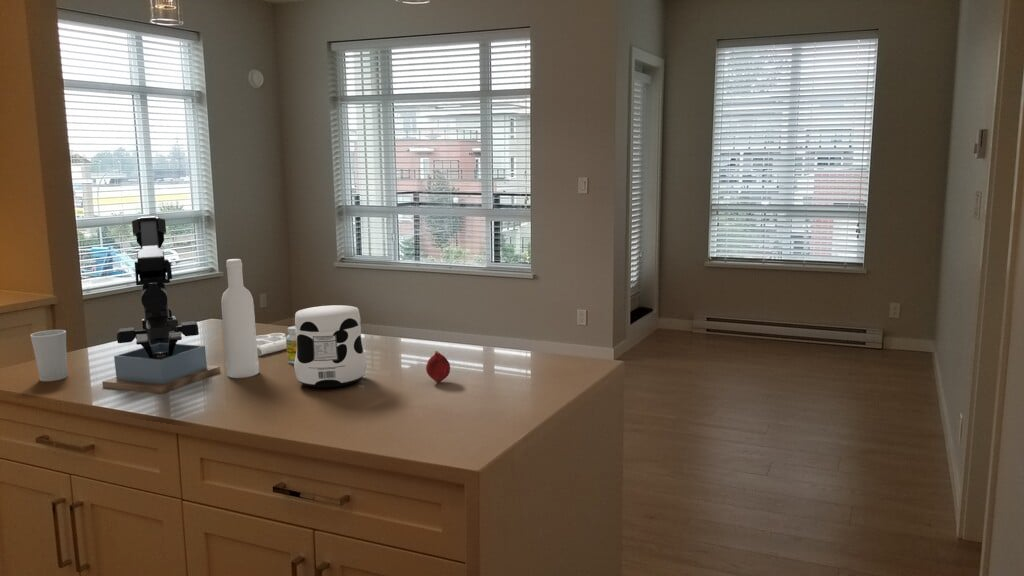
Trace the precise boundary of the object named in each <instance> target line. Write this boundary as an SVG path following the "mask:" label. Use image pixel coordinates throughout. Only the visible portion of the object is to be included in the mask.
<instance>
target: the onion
mask: <svg viewBox="0 0 1024 576" xmlns="http://www.w3.org/2000/svg"><path fill="white" fill-rule="evenodd" d="M425 371H426V374H427V375H428V376H429V378H431V380H433V381H434V382H435V383H437V384H438V383H439V384H440V383H441V382H442V381H444V380H445V379H446V378H447V377H448V376H449V374H450V373H451V363H450V361H449V360H448V359H447V357H445V356H444V355H443V354H442V353H440V352H439V350H435V351H434V354H432V356H431V357H430V358H429V359H428V361H427V362H426V366H425Z"/></svg>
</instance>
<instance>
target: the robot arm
mask: <svg viewBox="0 0 1024 576" xmlns="http://www.w3.org/2000/svg"><path fill="white" fill-rule="evenodd" d="M131 226H132V227H131V228H132V235H133V237H136V242H137V244H138V245H139V247H140V248H141V249H140V250H139V251H138V252H136V258H137V260H134V272H135V273H134V274H135V275H134V276H135V286H141V304H142V306H143V315H144V318H142V319H141V322H142V324H141V325H142V329H138V330H137V329H135V327H133V326H132V327H121V328H119V329H118V330H117V332H116V339H117V341H116V342H117V344H127V343H132V342H133V341H134V340H135V341H136V342H135V344H136V345H140V346H142V348H144V349H145V351H146V352H147V354H148V356H149V358H152V359H154V355H153V351H152V347H151V345H154V344H157V343H169V347H168V357H169V356H172V355H173V351H174V348H175V345H176V344H178V341H182V340H183V338H182V337H183V336H182V335H184V336H185V337H192V336H198V335H199V334H200V333H199V331H200V330H199V324H198V322H197V321H195V320H192V321H183V322H180V325H179V320H178V319H177V318H176V316H175V315H173V314H172V309H171V308H170V306H169V302H168V301H169V300H168V290H167V285H166V284H170V283H171V280H173V274H172V271H173V270H172V263H171V262H170V261H169V259H168V258H165V250H163V249H161V247H162V246H163V243H164V242H165V235H167V226H166V219H164V218H161V217H158V216H156V215H149V216H147V215H146V216H140V217H138V218H136V219H134V220H132V221H131Z"/></svg>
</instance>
